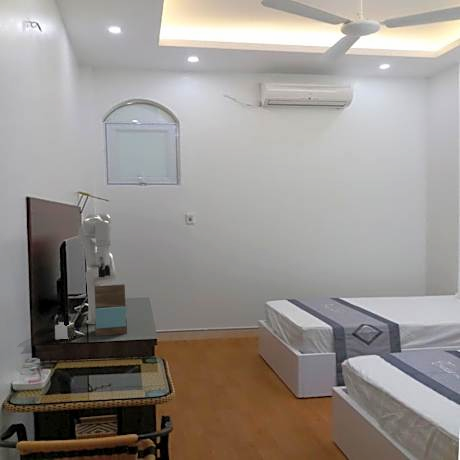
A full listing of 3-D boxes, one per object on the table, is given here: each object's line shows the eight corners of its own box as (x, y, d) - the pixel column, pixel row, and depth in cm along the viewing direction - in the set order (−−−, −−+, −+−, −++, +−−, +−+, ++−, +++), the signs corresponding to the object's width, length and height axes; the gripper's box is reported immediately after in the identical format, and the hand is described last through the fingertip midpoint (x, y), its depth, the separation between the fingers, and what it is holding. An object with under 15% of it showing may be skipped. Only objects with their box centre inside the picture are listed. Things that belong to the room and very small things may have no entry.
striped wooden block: (96, 330, 271) (94, 286, 270) (126, 327, 275) (124, 284, 274) (95, 336, 256) (93, 289, 256) (127, 333, 260) (125, 287, 260)
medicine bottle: (68, 339, 251) (67, 316, 250) (55, 339, 252) (54, 316, 252) (75, 336, 258) (74, 313, 257) (62, 336, 259) (61, 313, 259)
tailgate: (95, 328, 256) (95, 308, 256) (126, 325, 259) (125, 306, 259) (95, 328, 255) (95, 309, 255) (126, 326, 258) (125, 306, 258)
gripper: (100, 244, 272) (102, 275, 271) (90, 244, 254) (92, 278, 254) (114, 243, 271) (116, 274, 271) (105, 244, 254) (107, 277, 254)
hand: (104, 276), depth 263 cm, fingers open, 9 cm apart
